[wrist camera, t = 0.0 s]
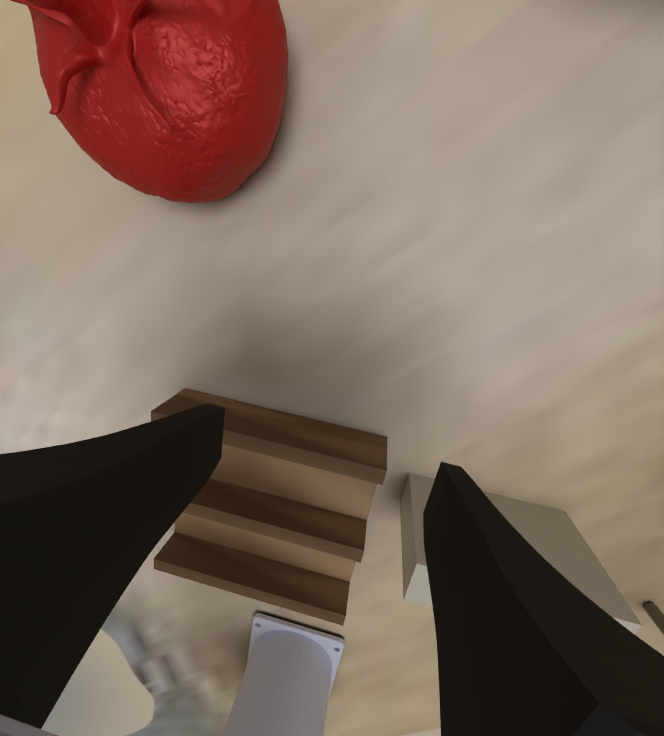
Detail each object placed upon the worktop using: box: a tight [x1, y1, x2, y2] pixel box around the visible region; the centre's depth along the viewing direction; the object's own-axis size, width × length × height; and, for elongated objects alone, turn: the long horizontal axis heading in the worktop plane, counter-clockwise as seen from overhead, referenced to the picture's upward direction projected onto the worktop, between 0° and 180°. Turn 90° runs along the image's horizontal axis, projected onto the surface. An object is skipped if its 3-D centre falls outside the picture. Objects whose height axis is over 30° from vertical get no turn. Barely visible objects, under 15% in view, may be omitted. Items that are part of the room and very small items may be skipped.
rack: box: [151, 389, 387, 625], centre depth 23 cm, size 13×14×4 cm
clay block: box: [400, 473, 642, 634], centre depth 19 cm, size 2×10×7 cm, turn 80°
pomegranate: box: [11, 0, 288, 203], centre depth 13 cm, size 10×10×9 cm
